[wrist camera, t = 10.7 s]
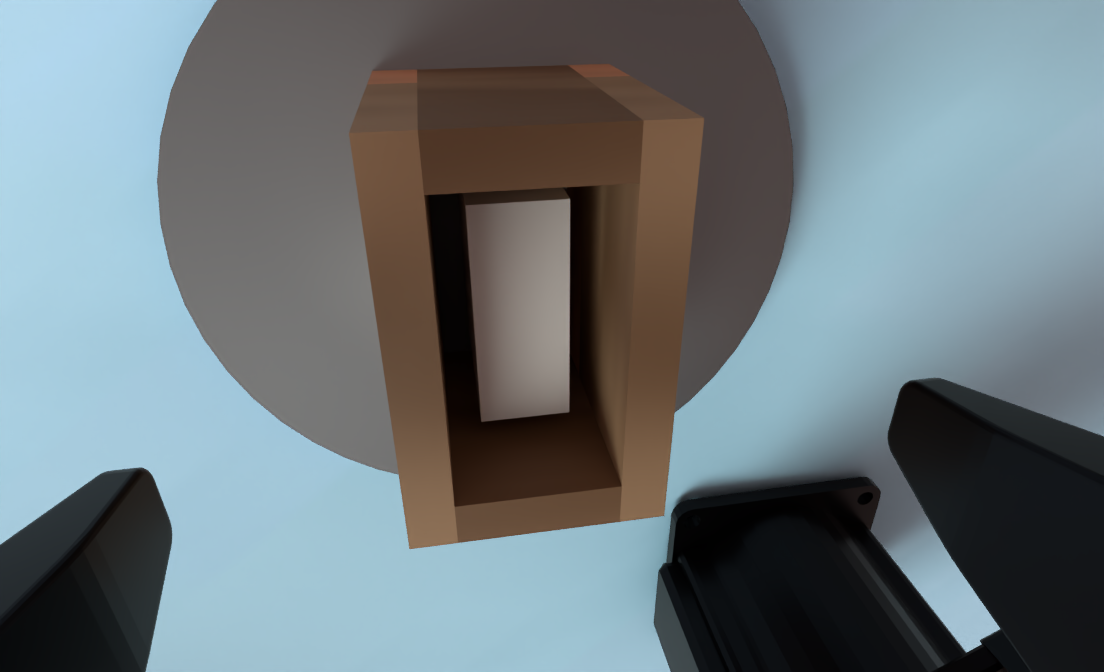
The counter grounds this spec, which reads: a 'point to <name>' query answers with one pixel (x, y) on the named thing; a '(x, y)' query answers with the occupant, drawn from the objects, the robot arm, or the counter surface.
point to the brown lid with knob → (442, 198)
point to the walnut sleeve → (595, 289)
